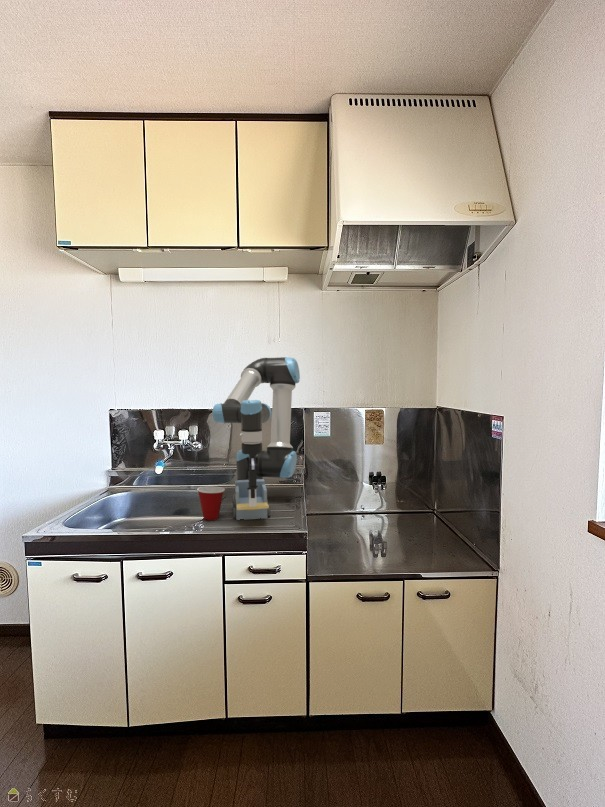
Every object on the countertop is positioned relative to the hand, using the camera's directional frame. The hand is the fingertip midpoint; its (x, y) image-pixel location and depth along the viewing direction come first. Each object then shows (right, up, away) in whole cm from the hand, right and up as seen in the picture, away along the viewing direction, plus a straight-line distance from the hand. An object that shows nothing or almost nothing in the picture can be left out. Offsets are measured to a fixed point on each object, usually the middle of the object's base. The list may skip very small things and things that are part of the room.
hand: (252, 505), depth 173 cm
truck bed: (-2, -7, +17) cm, 18 cm away
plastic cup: (-17, -8, +12) cm, 22 cm away
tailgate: (-1, -1, +9) cm, 9 cm away
